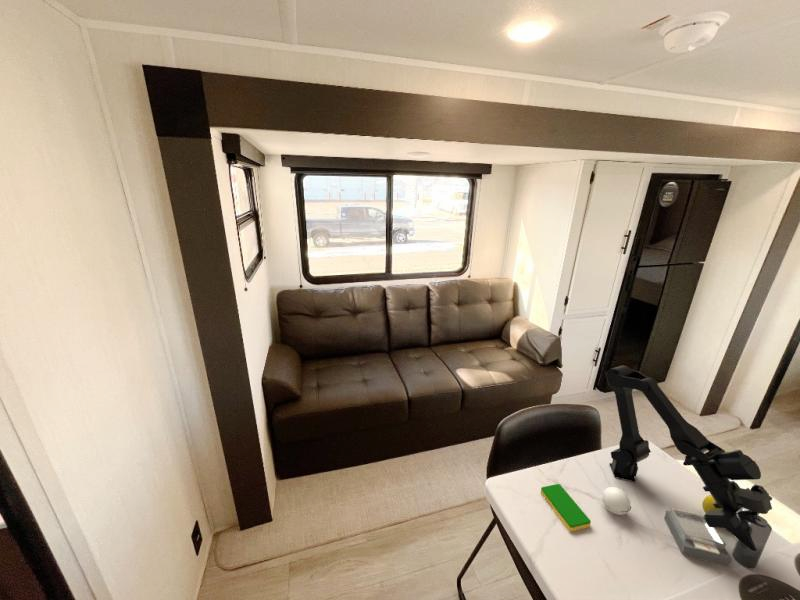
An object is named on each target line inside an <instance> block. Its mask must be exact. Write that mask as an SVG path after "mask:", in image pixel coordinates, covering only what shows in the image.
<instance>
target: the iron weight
mask: <svg viewBox="0 0 800 600" xmlns="http://www.w3.org/2000/svg"><path fill="white" fill-rule="evenodd" d="M745 521H747V524H746V527H745V528H746V530H747V532H748V533H749V535H750V537H751V539H752V541H753V543H754V544H755V547H756V549H757V551H752V550H751V549H750V548H748V547H747V546H746V545H745V544H744V543H742V542H741V541H740V540H739V539H738V538H737V540H736V542H735V545H734V548H733V549H732V553H731V555H732V556H731V557H733V559H734V560H735V561H736V562H737V563H738V564H740V565H741V566H743V567H744V568H747V569H750V570H755V569H756V567H757V566H758V563H759V561H760V559H761V556H762V554H763V552H764V550H765V547H766V544H767V542H768V540H769V537H770V536H771V533H772V531H773V527H772V526H771V524H769V523H768V521H767V520H766V519H765V517H762V516H760V515H754V516H753V515H748V516H747V517H746V520H745Z"/></svg>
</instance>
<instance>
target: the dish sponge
mask: <svg viewBox="0 0 800 600" xmlns="http://www.w3.org/2000/svg"><path fill="white" fill-rule="evenodd" d="M540 489H541V490H540V494H541V493H542V494H543V495H542V494H541V495H542V496H544V497H545V498H546V499H545V498H544V497H543V498H544V499H545V501H546V500H547V501H548V502H549V503H548V502H547V501H546V502H547V503H548V505H549V504H550V505H551V506H550V505H549V506H550V508H551V509H552V508H553V509H554V510H553V509H552V510H553V511H554V512H556V513H555V514H556V516H557V517H558V516H559V517H560V518H559V517H558V518H559V519H560V521H561V520H562V521H561V522H562V523H563V525H564V524H565V525H564V526H565V527H566V529H567V528H568V529H567V530H568V531H569V532H574V531H578V530H583V529H586V528H590V527H591V522H592V521H591V519H590V518H589V516H587V515H586V513H585V512H584V511H583V510H582V509H581V508H580V506H579V504H577V503H576V501H575V500H574V499H573V498H572V497H571V496H570V495H569V493H568V492H567V490H565V488H564V487H563V486H562V485H561V484H560V483H556V484H552V485H551V484H550V485H547V486H541V488H540ZM582 528H583V529H582Z"/></svg>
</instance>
